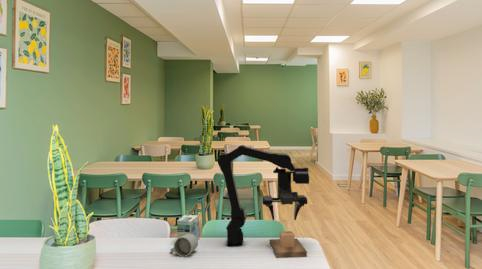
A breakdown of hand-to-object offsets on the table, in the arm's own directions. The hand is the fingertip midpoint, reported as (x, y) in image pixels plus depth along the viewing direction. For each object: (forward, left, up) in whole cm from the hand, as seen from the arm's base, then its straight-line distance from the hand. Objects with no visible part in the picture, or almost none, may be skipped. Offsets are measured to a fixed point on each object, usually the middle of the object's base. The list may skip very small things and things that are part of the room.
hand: (284, 220), depth 155 cm
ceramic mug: (-42, -5, -11) cm, 44 cm away
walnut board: (0, -6, -11) cm, 12 cm away
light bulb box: (-41, +9, -11) cm, 43 cm away
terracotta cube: (0, -6, -9) cm, 11 cm away
